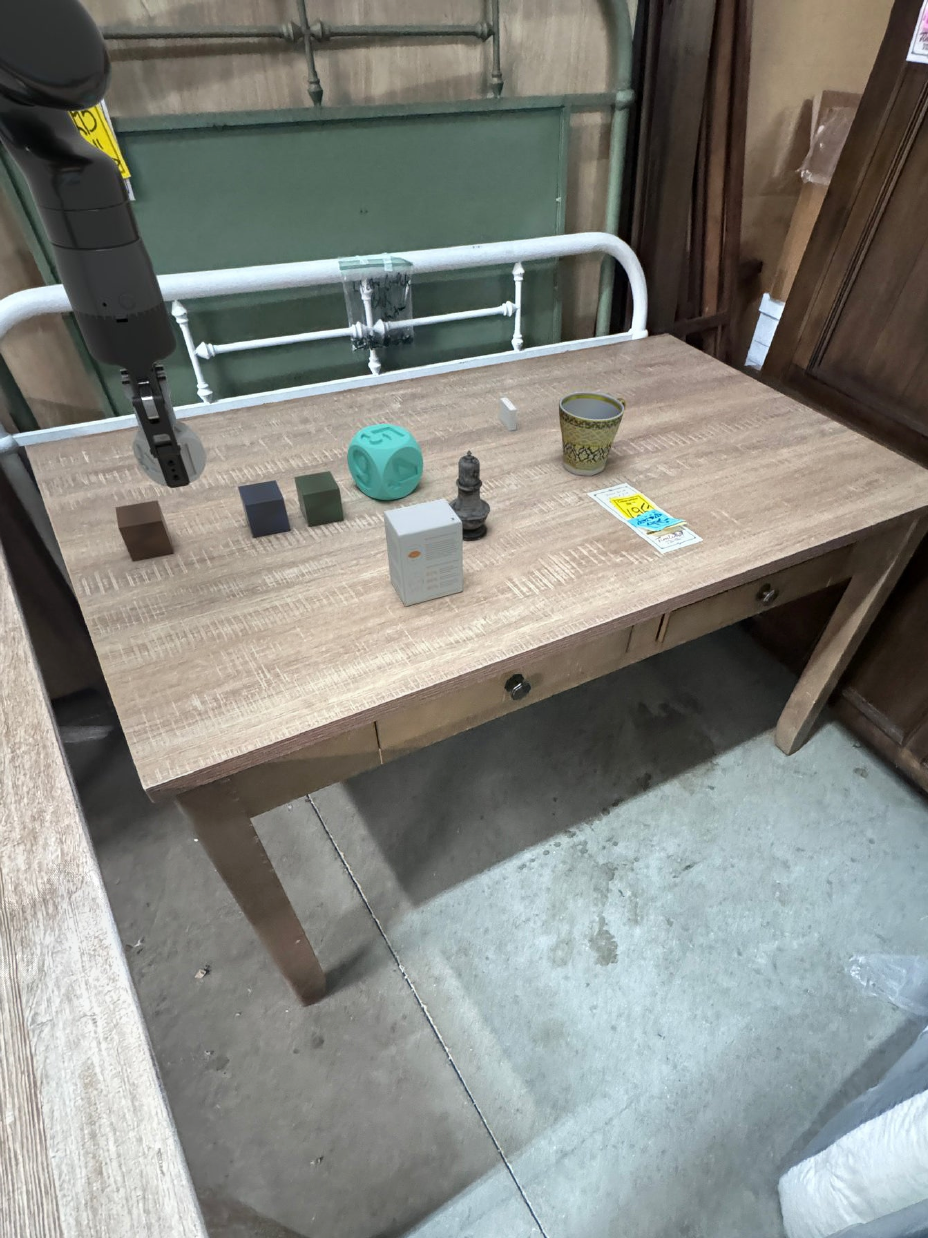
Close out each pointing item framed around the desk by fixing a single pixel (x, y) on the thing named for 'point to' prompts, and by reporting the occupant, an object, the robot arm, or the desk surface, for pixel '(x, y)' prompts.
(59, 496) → the desk surface
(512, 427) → the eraser
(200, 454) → the die
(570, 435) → the ceramic cup
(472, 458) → the black chess piece
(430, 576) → the small box
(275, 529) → the row of mixed cubes
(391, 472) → the decorative dice
